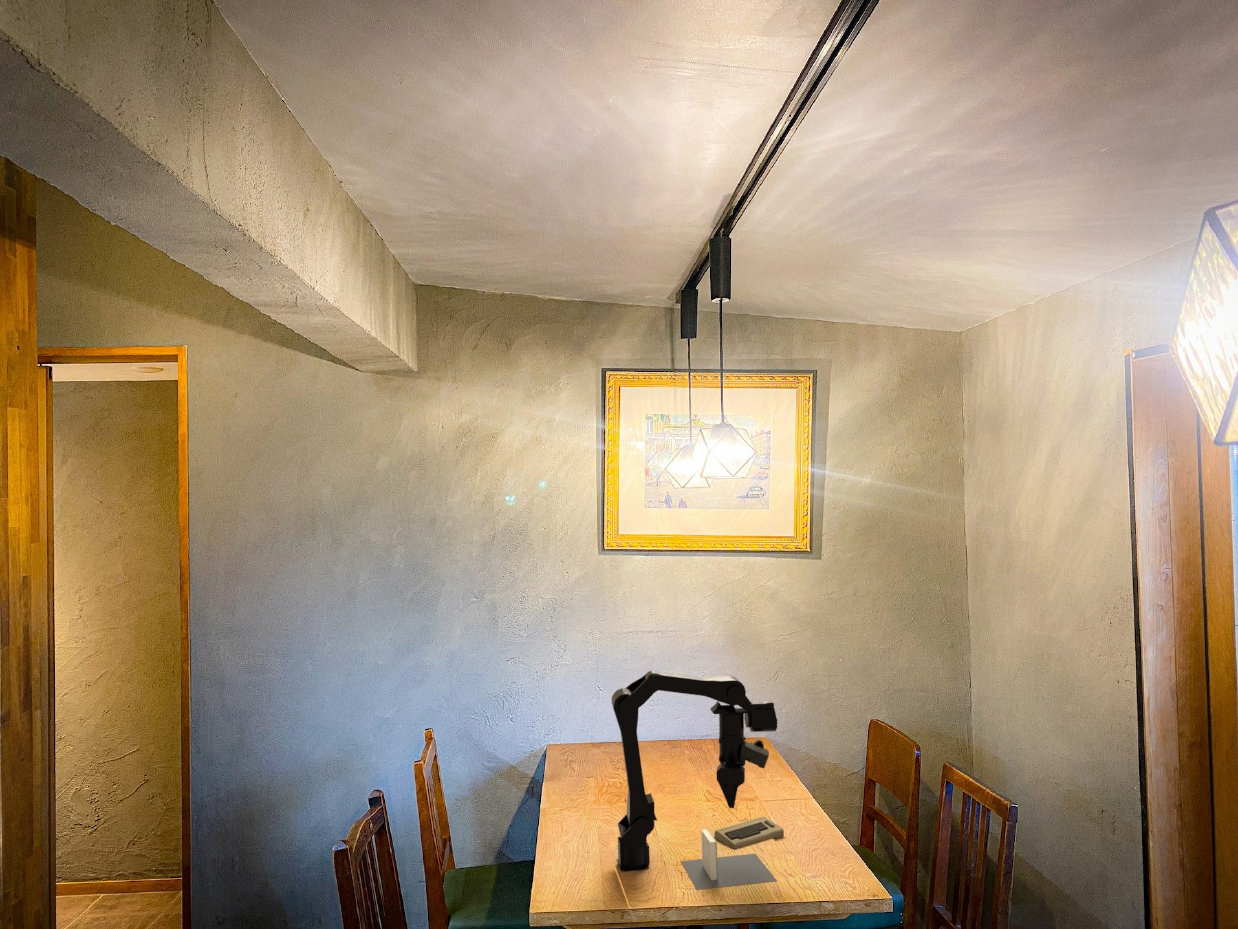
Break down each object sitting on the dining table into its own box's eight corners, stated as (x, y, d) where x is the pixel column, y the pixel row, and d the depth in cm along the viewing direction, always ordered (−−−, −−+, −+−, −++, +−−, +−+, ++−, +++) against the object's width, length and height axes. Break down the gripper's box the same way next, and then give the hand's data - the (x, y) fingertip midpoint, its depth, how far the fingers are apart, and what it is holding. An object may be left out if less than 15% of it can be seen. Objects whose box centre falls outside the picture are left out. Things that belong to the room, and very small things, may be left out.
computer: (734, 853, 185) (734, 839, 185) (713, 842, 192) (713, 828, 192) (784, 838, 193) (784, 824, 193) (762, 827, 200) (762, 814, 200)
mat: (696, 892, 166) (696, 890, 166) (680, 864, 179) (680, 861, 179) (777, 884, 169) (777, 881, 169) (755, 856, 182) (755, 853, 182)
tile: (711, 880, 170) (710, 842, 170) (702, 866, 177) (701, 829, 177) (717, 879, 170) (716, 841, 170) (708, 865, 177) (707, 829, 177)
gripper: (767, 745, 172) (767, 818, 171) (766, 723, 190) (767, 789, 189) (716, 743, 174) (716, 815, 173) (720, 721, 192) (720, 786, 191)
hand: (732, 800), depth 181 cm, fingers open, 9 cm apart
